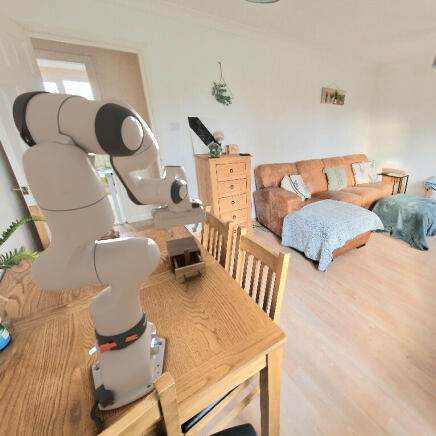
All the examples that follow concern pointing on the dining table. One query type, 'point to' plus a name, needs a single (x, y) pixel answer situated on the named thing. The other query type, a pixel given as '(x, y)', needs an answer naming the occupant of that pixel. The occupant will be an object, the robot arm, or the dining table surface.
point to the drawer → (189, 267)
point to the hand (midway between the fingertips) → (183, 234)
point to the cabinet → (181, 248)
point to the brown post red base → (187, 256)
